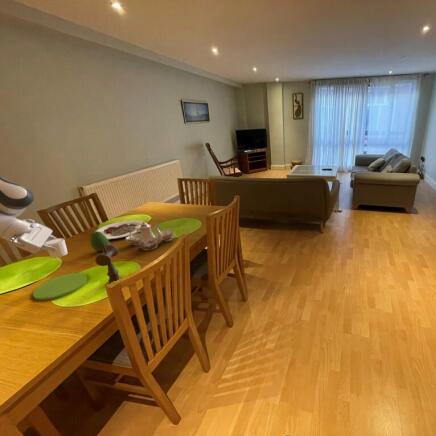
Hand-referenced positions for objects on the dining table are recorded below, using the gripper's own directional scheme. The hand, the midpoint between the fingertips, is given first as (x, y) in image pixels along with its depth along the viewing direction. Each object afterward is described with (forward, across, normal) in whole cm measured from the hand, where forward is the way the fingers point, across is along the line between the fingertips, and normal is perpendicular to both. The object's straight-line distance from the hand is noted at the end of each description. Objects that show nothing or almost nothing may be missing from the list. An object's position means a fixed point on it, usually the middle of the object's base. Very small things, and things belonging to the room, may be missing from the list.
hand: (57, 246), depth 109 cm
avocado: (+19, +22, +4) cm, 29 cm away
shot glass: (+3, 0, +4) cm, 5 cm away
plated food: (+25, +48, -2) cm, 54 cm away
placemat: (+10, -8, +13) cm, 18 cm away
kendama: (+25, -17, -2) cm, 30 cm away
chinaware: (+36, +15, -13) cm, 41 cm away
